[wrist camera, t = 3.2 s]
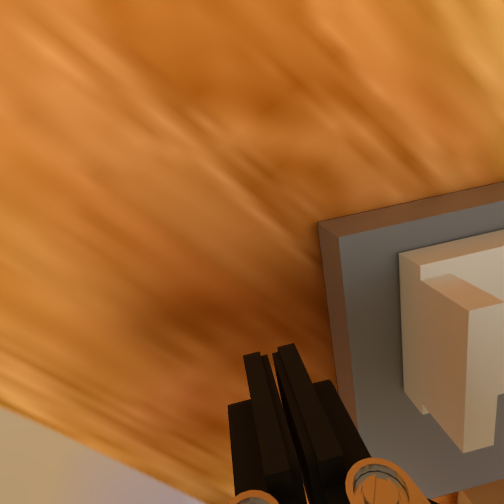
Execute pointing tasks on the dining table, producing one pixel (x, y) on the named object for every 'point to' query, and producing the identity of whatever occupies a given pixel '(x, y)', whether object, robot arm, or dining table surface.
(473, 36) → the dining table surface
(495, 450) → the socket plate
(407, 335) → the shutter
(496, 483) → the plug
